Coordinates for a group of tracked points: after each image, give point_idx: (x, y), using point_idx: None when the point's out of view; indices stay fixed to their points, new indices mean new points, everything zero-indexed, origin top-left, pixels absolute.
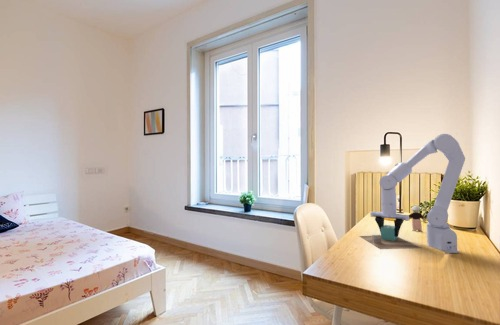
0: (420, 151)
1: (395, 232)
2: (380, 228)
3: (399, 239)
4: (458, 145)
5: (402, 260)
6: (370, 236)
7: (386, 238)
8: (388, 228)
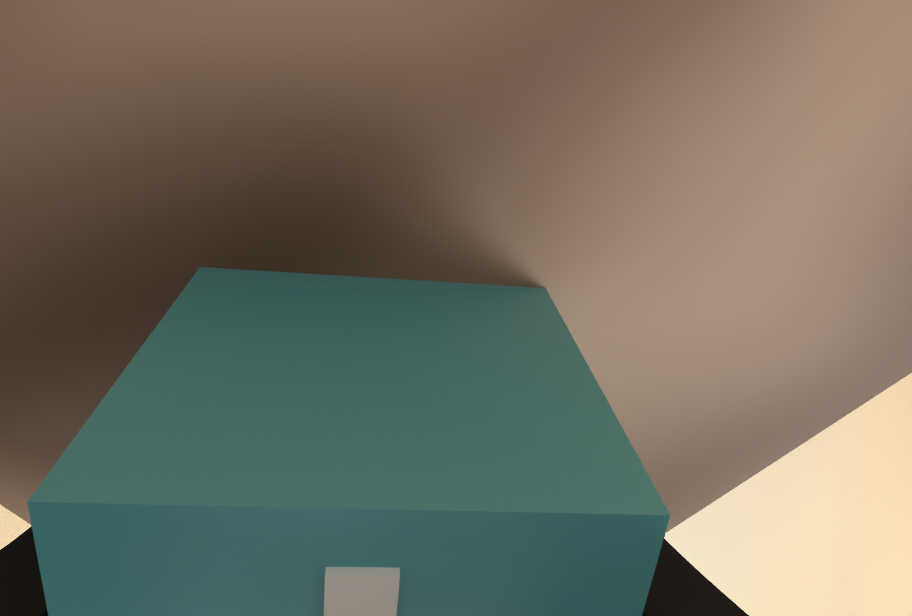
0: None
1: None
2: (658, 568)
3: None
4: None
5: None
6: (813, 369)
7: (401, 298)
8: (297, 504)
